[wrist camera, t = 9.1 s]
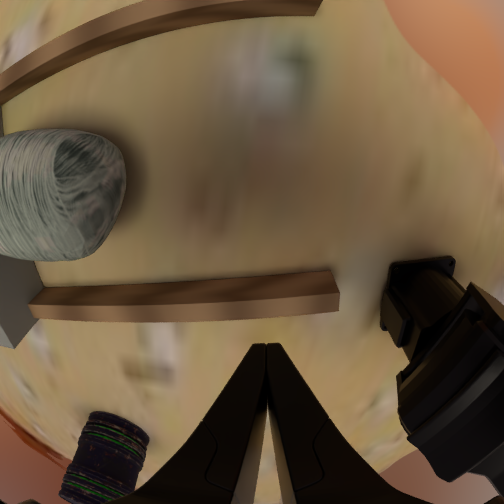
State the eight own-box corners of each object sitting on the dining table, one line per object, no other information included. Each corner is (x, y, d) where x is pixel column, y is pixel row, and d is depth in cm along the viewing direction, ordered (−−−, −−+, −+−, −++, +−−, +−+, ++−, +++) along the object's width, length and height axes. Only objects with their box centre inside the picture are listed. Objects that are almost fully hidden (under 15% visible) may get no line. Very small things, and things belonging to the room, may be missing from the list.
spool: (139, 92, 13) (-10, 219, 7) (162, 215, 20) (84, 332, 14) (21, 100, 15) (-68, 178, 9) (52, 184, 22) (-13, 261, 16)
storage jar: (102, 436, 35) (77, 507, 21) (79, 404, 31) (43, 485, 17) (156, 450, 35) (139, 529, 21) (140, 419, 31) (112, 515, 17)
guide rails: (310, -2, 12) (319, -21, 10) (329, 287, 21) (338, 311, 19) (0, 90, 14) (-23, 92, 11) (49, 300, 23) (33, 318, 20)
